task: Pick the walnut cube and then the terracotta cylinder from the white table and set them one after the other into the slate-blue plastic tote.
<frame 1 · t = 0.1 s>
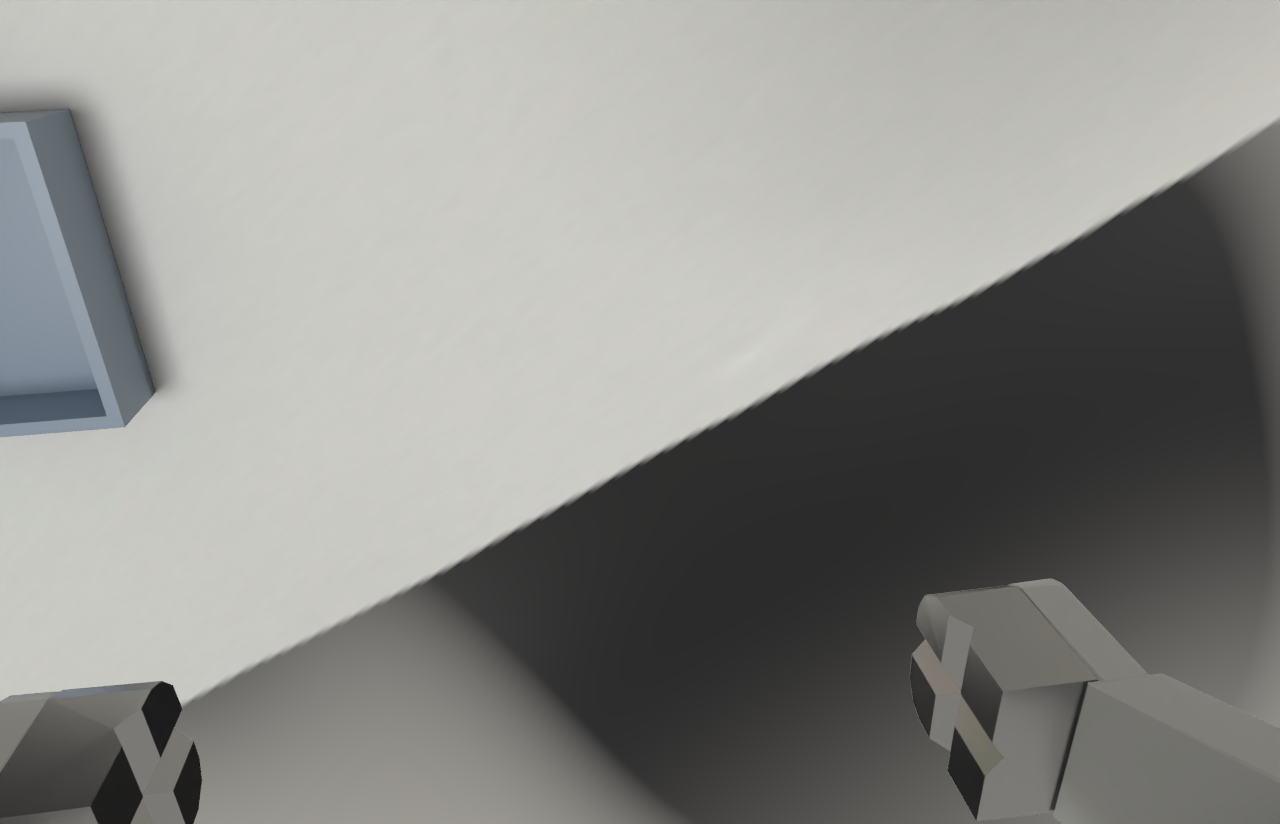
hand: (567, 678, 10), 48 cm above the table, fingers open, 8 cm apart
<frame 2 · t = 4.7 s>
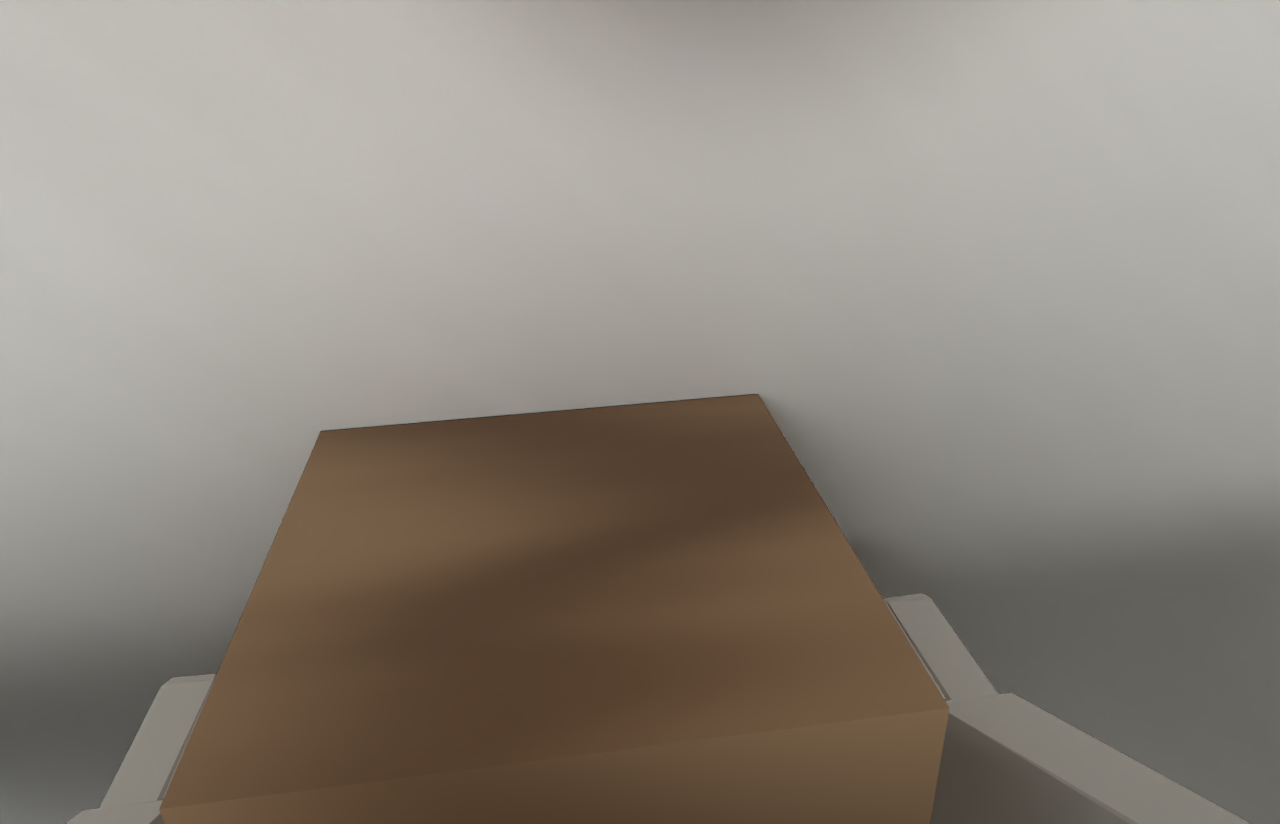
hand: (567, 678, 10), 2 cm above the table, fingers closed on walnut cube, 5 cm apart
walnut cube: (560, 588, 11), on the table, touching gripper
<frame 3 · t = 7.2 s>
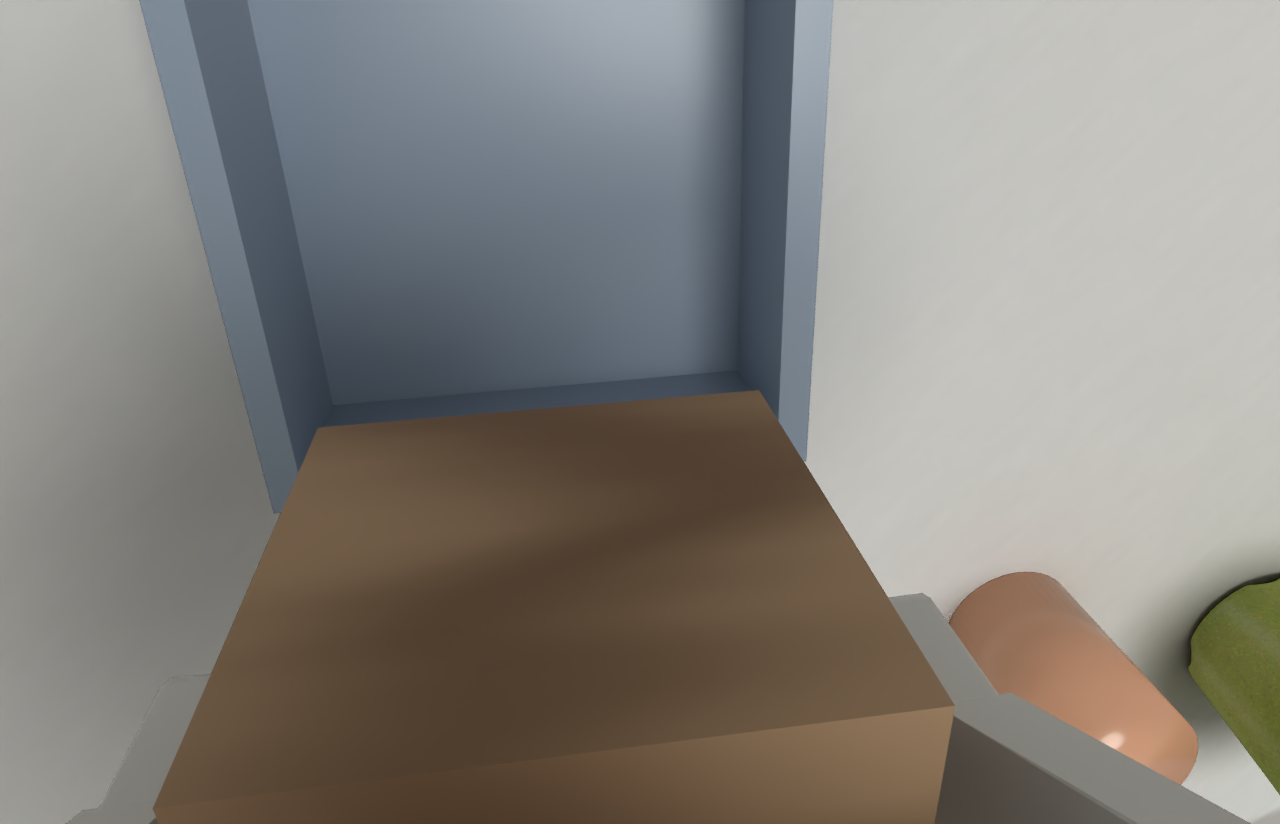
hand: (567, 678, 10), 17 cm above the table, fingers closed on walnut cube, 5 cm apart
walnut cube: (560, 585, 11), point 15 cm above the table, touching gripper
terracotta cylinder: (1008, 625, 33), on the table
tote: (513, 101, 23), on the table
plant pot: (1251, 629, 36), on the table
when the fingers open (4 cm above the table, at t = 10.0 s): walnut cube drops 1 cm, resting on tote.
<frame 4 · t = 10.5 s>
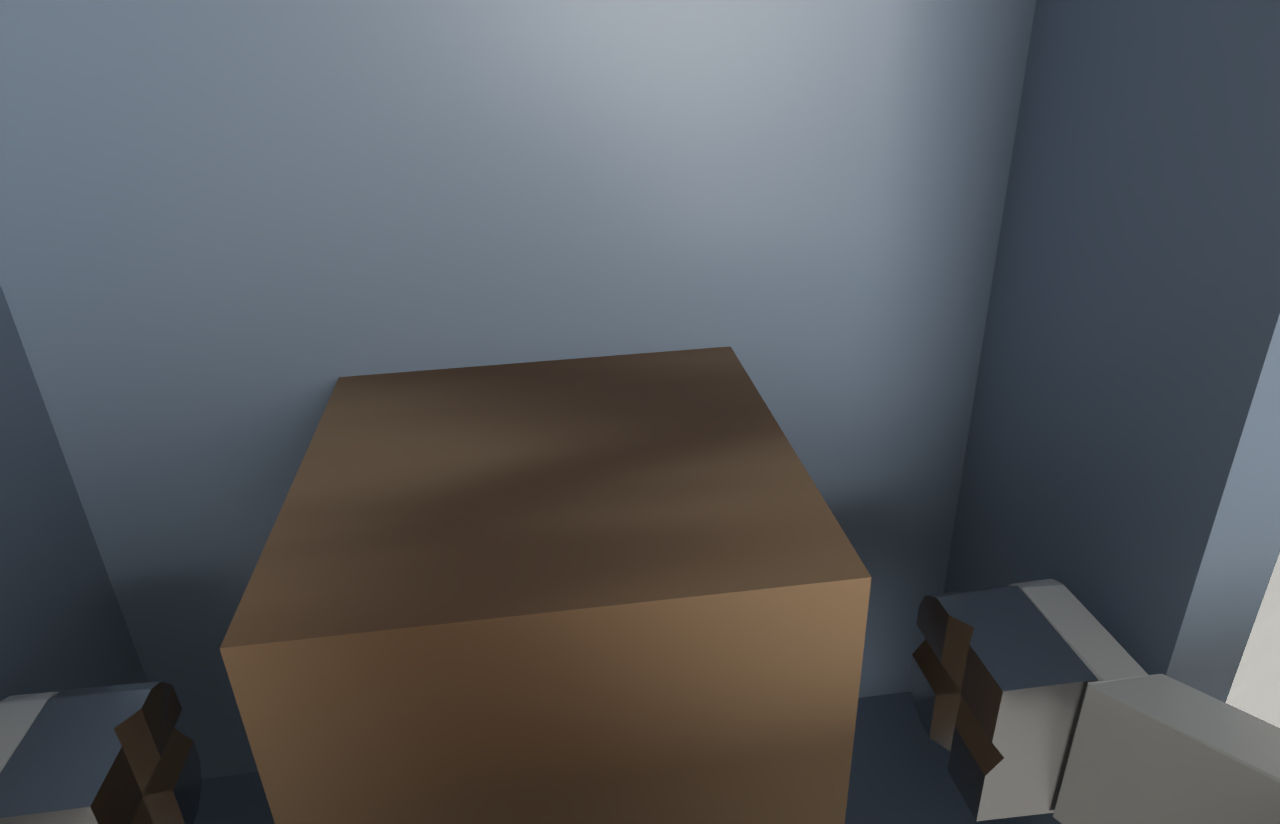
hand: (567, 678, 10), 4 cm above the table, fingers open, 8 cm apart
walnut cube: (553, 524, 12), point 1 cm above the table, touching tote
tote: (530, 235, 11), on the table
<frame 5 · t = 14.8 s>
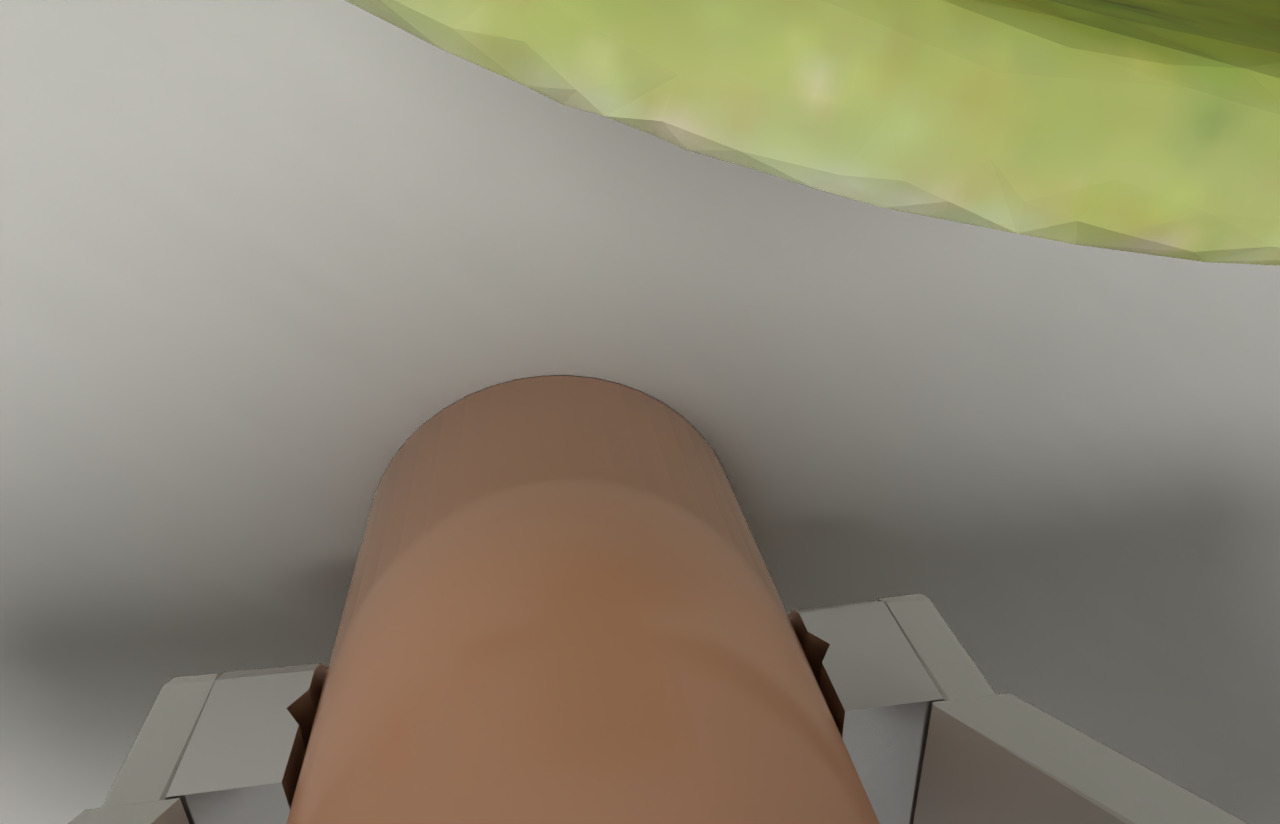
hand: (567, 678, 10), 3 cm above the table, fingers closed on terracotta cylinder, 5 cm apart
terracotta cylinder: (556, 542, 12), on the table, touching gripper
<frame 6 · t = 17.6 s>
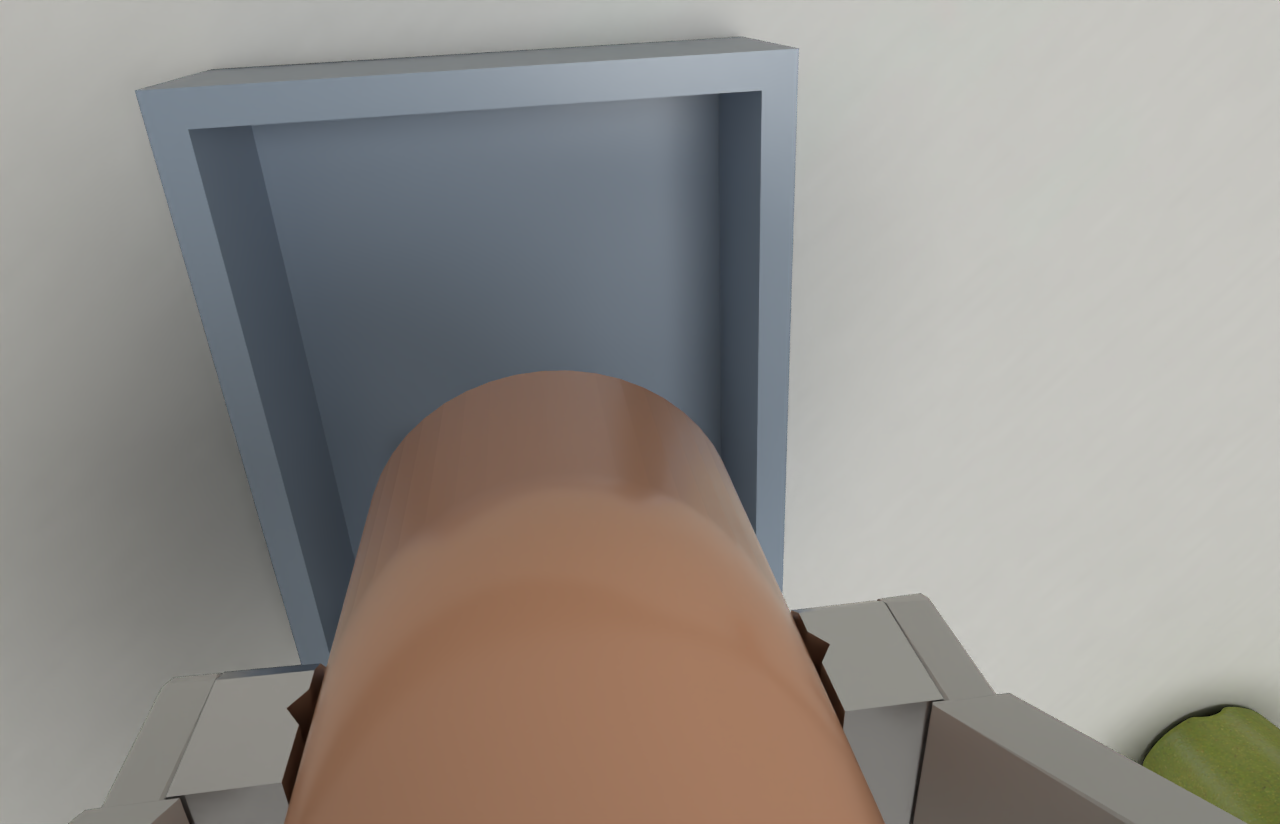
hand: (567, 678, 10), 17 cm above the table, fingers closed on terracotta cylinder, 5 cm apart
terracotta cylinder: (556, 538, 12), point 15 cm above the table, touching gripper
tote: (522, 365, 26), on the table
plant pot: (1199, 751, 39), on the table
when the fingers open (5 cm above the table, at t = 20.5 s): terracotta cylinder drops 1 cm, resting on tote.
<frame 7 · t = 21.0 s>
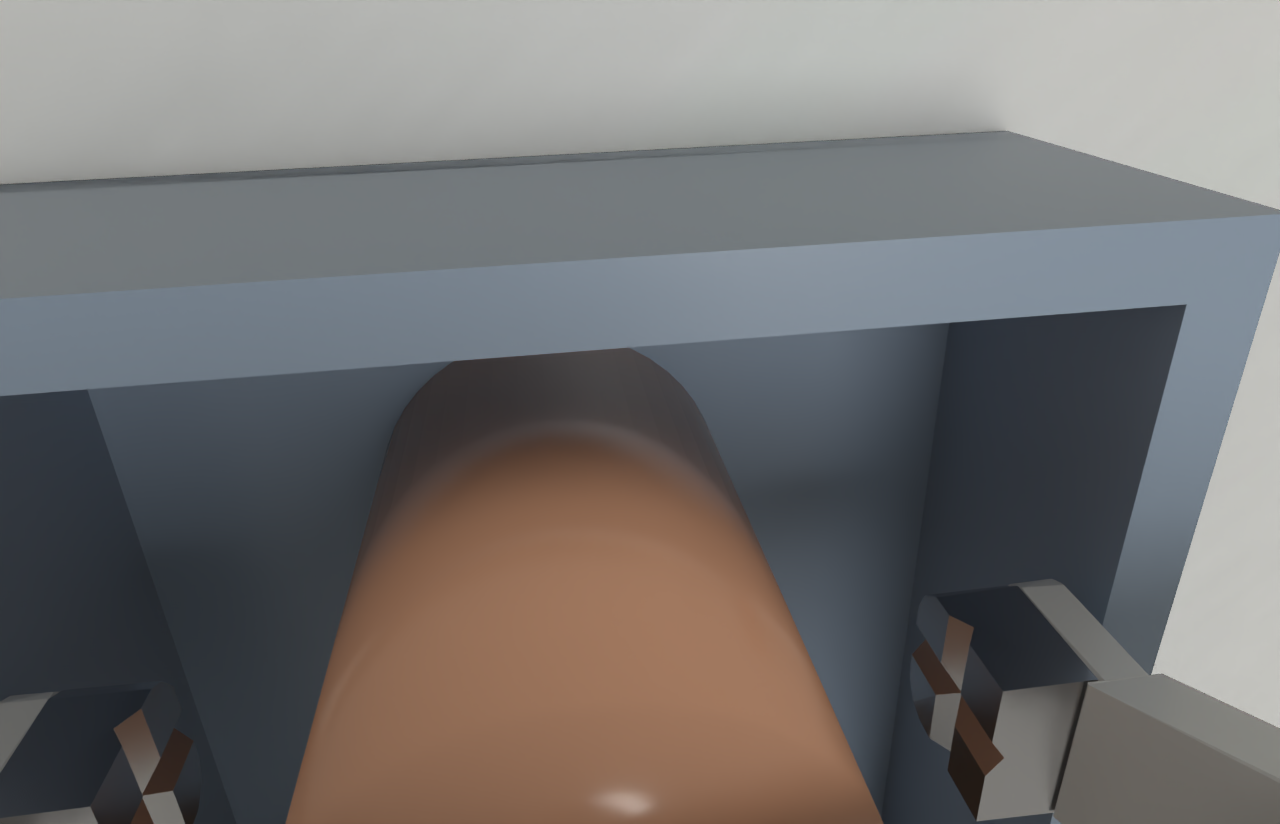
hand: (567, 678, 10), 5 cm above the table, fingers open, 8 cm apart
terracotta cylinder: (553, 487, 13), point 1 cm above the table, touching tote
tote: (567, 664, 15), on the table
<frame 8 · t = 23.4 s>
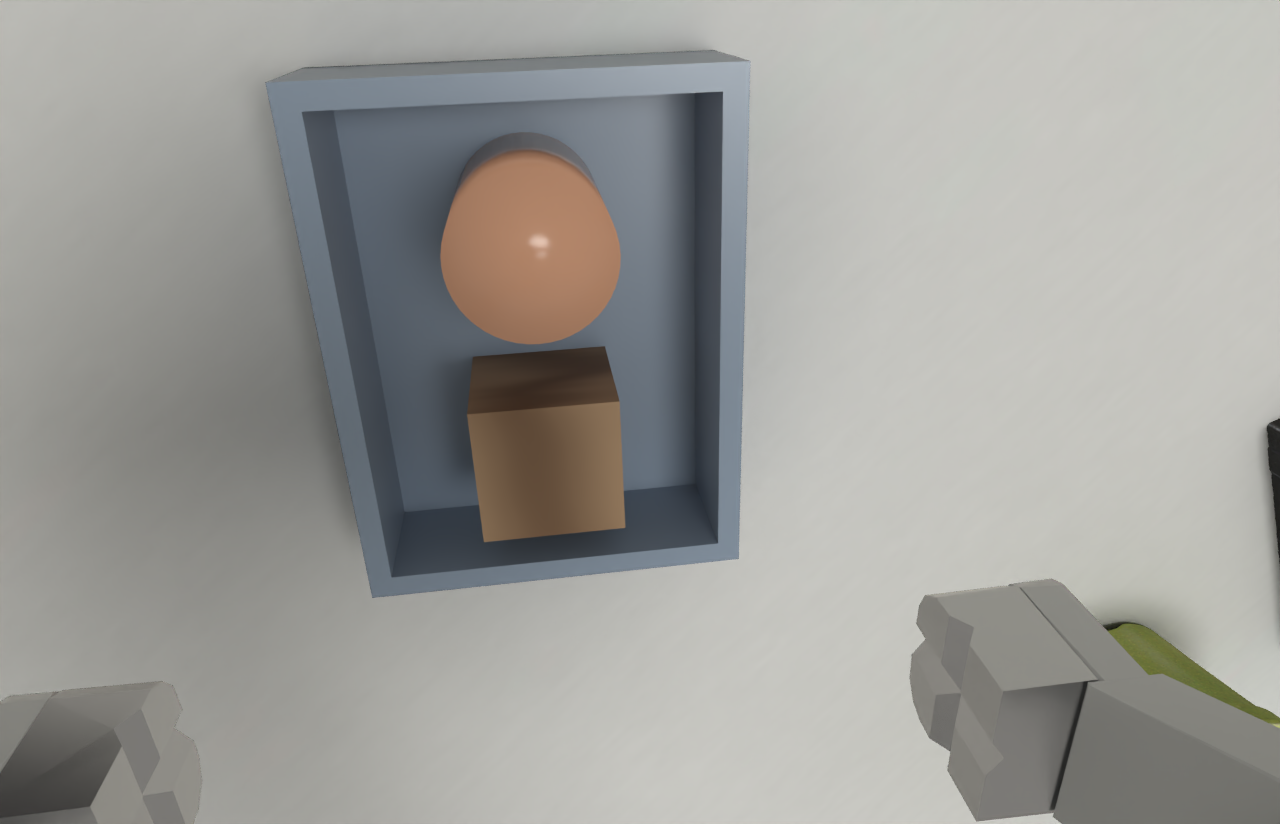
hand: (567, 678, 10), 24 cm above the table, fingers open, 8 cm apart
walnut cube: (544, 410, 34), point 1 cm above the table, touching tote
terracotta cylinder: (527, 206, 31), point 1 cm above the table, touching tote
tote: (536, 309, 33), on the table
plant pot: (1103, 664, 46), on the table
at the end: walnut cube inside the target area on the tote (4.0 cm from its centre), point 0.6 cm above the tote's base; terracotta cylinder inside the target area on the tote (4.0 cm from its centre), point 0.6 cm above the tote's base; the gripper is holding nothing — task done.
